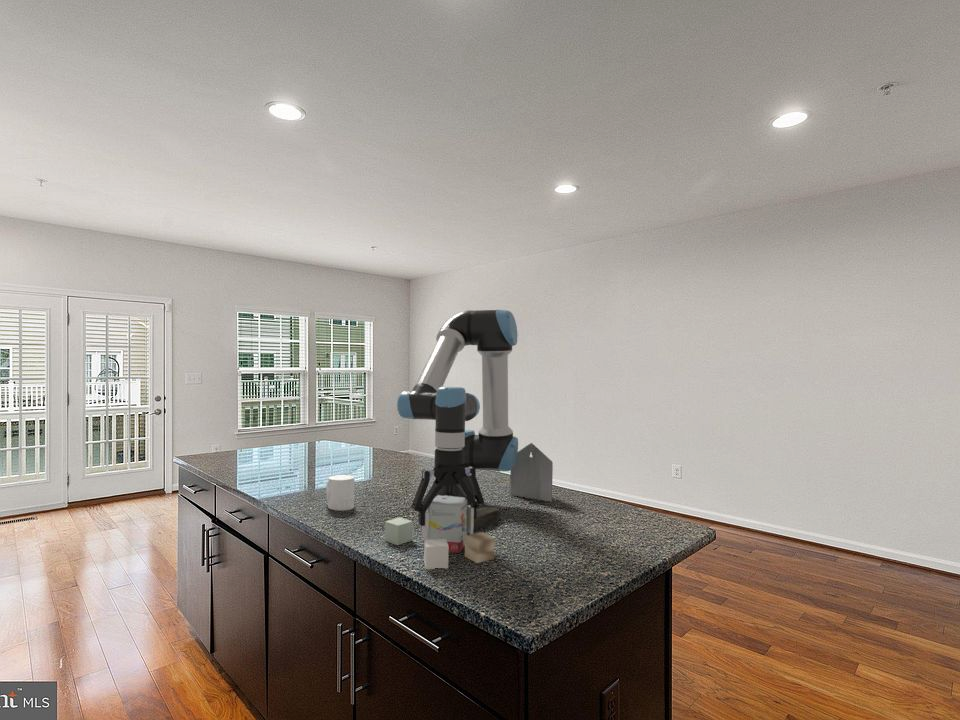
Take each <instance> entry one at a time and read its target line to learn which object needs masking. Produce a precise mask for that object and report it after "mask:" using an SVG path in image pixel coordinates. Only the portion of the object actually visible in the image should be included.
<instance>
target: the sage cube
mask: <svg viewBox="0 0 960 720" xmlns="http://www.w3.org/2000/svg"><path fill="white" fill-rule="evenodd" d="M413 523H414V522H413V521H412V520H410V519H406V518H404V517H400V516H399V517H396V518H392V519H389V520H385V521H384V542H387V543H390V544H393V545H396V546H399V545H403V544H405V543H408V542H411V541H413V532H414V530H413V527H414V526H413Z"/></svg>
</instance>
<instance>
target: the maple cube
mask: <svg viewBox="0 0 960 720" xmlns="http://www.w3.org/2000/svg"><path fill="white" fill-rule="evenodd" d="M464 557H465V558H466V557H467V558H466V559H469V560H470V561H472V562H474V563H475V564H479V563H483V562H486V561H491V560H495V537H494V536H492V535H489V534H487V533H485V532H476V533H473V534H467V535H466V536H465V546H464Z"/></svg>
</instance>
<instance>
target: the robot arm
mask: <svg viewBox="0 0 960 720" xmlns="http://www.w3.org/2000/svg"><path fill="white" fill-rule="evenodd" d="M518 336H519V335H518V326H517V322H516V318H515V315H514V314H513V313H512V311H510V310H506V309H505V310H504V309H483V310H482V309H479V310H477V309H476V310H471V309H469V310H465V311H461V312H459V313H457V314H455V315H453V316H452V317H451V318H449V319H448V320H446V321H445V323H444V324H443V325H442V326H441V327H440V330H438V333H437V335H436V339H435V340H436V343H435V345H434V347H433V349H432V350H431V353H430V355H429V356H428V358H427V361H426V363H425V365H424V367H423V369H422V370H421V373H420V375H419V377H418V379H417V381H416V383H415V385H414V386H413V388H412V389H411V391H410V390H407V391H403V392H401V393H399V395H398V398H397V402H396V403H397V405H396V408H397V409H396V410H397V412H398V414H399V416H400V417H401V418H403V419H410V420H429V421H430V420H432V421H435V427H434V428H435V429H434V447H435V448H436V449H435V450H434V466H433V469H429V470H427V469H423V470H422V471H421V479H420V481H419V482H420V483H419V485H418V488H417V491H416V492H415V495H414V498H413V501H412V503H411V509H412V510H414V511H415V512H418V525H420V526H421V538H422V539H423V540H428V533H429V513H428V509H429V506H430V504H431V503H432V501H433V499H434V498H435V497H436V496H438V495H442V496H454V497H464V498H467V499H468V520H467V534H469V535H471V534H474V530H473V526H474V519H476V518H477V509H479V507H480V505H483V504H484V502H485V500H484V497H483V494H482V491H481V487H480V485H479V482H478V479H477V474H476V470H479V471H490V472H491V471H493V472H498V473H499V472H510V471H511V470H512V468H513V467H514V464H515V461H516V457H517V452H518V451H519V438H518V437H516V436H514V431H513V429H512V428H511V427H510V426H509V361H508V359H509V355H510V354H511V352H513V347H514V346H516V345H517V343H518ZM467 346H477V352H478V353H479V354H480V355H481V368H482V369H481V376H482V377H481V379H482V380H481V381H482V382H481V383H482V384H481V385H482V387H481V388H482V427H481V428H480V429H479V430H478V434H476V432H475V430H473V429H468V430H467V429H466V422H469V421H472V420H473V419H474V418H476V417H477V415H478V414H480V413H479V412H480V409H481V405H480V400H479V399H478V397H477V396H476V395H474V394H472V393H468V392H466V391H467V390H466V388H464V387H461V386H444V384H445V382H446V380H447V378H448V375H449V373H450V371H451V369H452V367H453V365H454V363H455V360H456V358H457V356H458V353H460V352H461V351H463V349H464V348H465V347H467ZM433 476H434V478H435V479H434V481H433V482H432V484H431V487H430V488H429V490H428V492H427V489H428V487H429V483H430V480H431V479H432V478H433ZM425 494H426V495H425Z"/></svg>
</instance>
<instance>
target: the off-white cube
mask: <svg viewBox="0 0 960 720" xmlns="http://www.w3.org/2000/svg"><path fill="white" fill-rule="evenodd" d="M423 540H424V542H423V543H424V544H423V545H424V546H423V562H424V563H425V564H424V567H425V570H436V569H435V568H444V569H449V553H450V552H449V546H448V543H447V540H446V539H429V540H425V539H423Z"/></svg>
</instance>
